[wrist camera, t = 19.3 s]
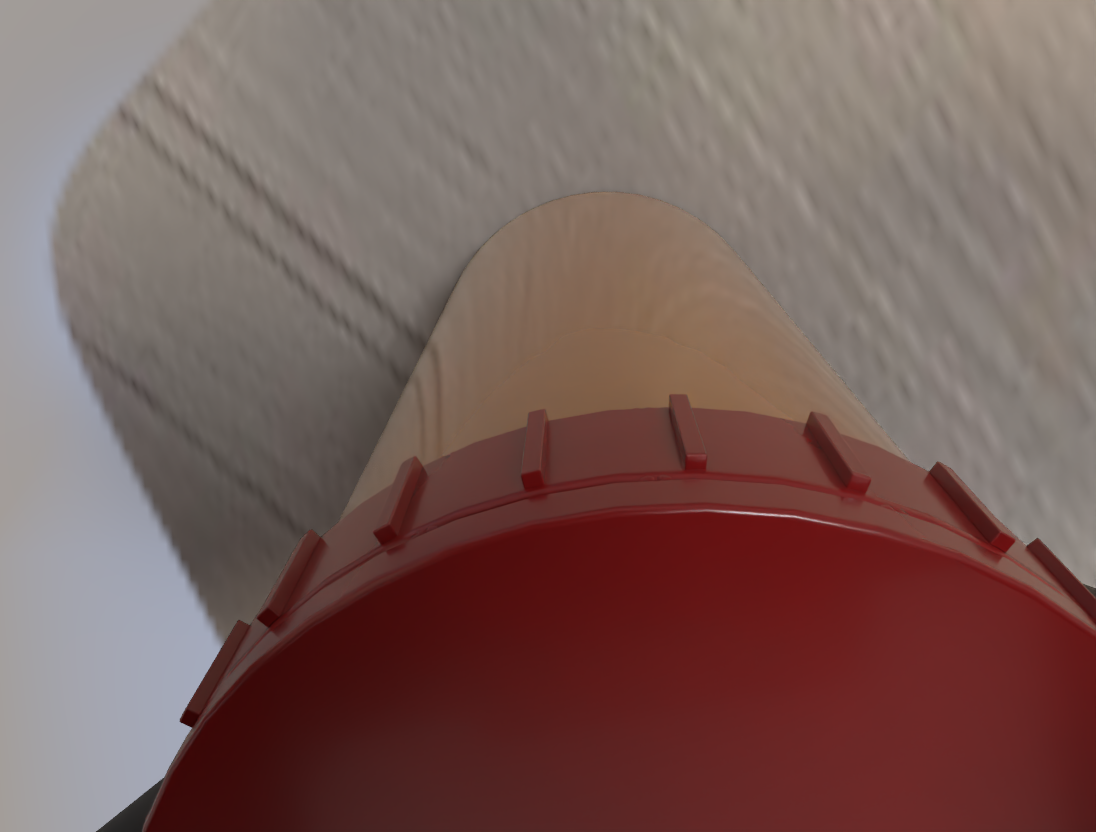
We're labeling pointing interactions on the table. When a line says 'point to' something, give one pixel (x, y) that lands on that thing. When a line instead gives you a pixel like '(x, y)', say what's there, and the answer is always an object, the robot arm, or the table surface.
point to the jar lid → (654, 648)
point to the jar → (605, 334)
